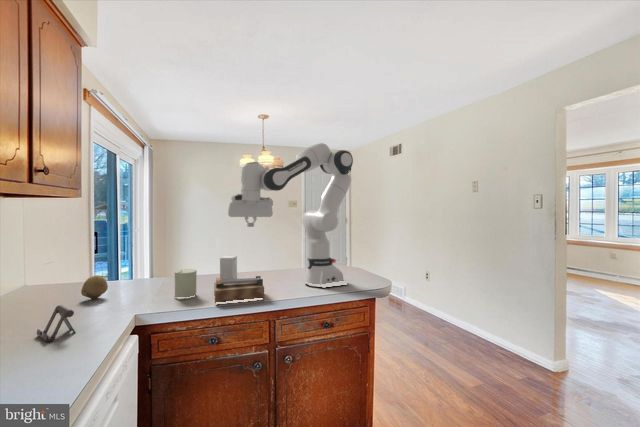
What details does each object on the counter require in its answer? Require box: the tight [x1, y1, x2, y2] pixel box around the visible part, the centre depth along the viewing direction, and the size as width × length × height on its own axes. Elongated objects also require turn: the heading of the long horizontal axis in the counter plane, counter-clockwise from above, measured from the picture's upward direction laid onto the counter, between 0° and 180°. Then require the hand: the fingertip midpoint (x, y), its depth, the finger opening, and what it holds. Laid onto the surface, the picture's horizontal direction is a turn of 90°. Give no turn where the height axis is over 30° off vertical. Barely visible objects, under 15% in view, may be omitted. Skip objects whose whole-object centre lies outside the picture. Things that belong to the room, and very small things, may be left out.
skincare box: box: [219, 255, 238, 280], centre depth 154 cm, size 8×7×16 cm
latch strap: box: [215, 277, 260, 284], centre depth 137 cm, size 19×4×2 cm, turn 110°
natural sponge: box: [80, 275, 109, 300], centre depth 134 cm, size 9×9×10 cm
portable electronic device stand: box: [36, 304, 76, 344], centre depth 97 cm, size 9×8×8 cm
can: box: [174, 268, 198, 297], centre depth 139 cm, size 9×9×12 cm
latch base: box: [213, 275, 265, 304], centre depth 137 cm, size 20×14×8 cm
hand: (250, 226), depth 145 cm, fingers closed
